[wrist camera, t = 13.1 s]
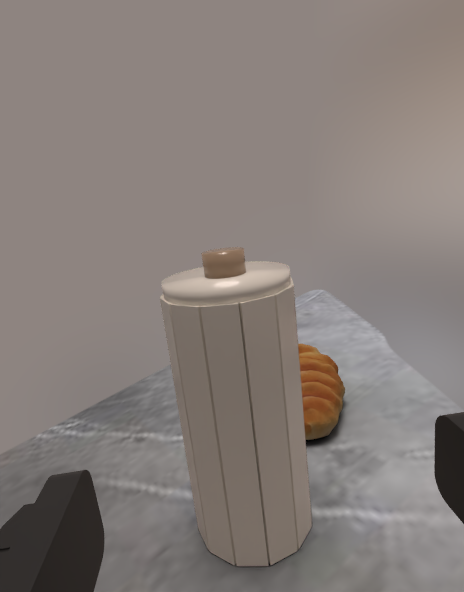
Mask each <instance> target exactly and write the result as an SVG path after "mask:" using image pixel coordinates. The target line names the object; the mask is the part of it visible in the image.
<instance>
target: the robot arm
mask: <svg viewBox="0 0 464 592" xmlns="http://www.w3.org/2000/svg"><path fill="white" fill-rule="evenodd" d="M435 479H436V483H437V486H438V489H439V491H440V493H441V495H442V497H443V499H444V500H445V502H446V503H447V504H448V506H449V507H450V508H451V509H452V510H453V512H454V513H455V514H456V515H457V516H458V518H459V519H460V520H461V521H462V522H463V524H464V412H461V413H455V414H448V415H442V416H439V417H438V418H437V420H436V423H435ZM103 552H104V528H103V523H102V519H101V515H100V511H99V506H98V502H97V498H96V494H95V490H94V486H93V481H92V478H91V475H90V473H89V471H87V470H83V471H76V472H70V473H64V474H57V475H52V476H50V477H49V478H48V480H47V481H46V483H45V485H44V487H43V489H42V491H41V492H40V494H39V496H38V498H37V500H36V502H35V503H34V504H27V505H24V506H23V507H22V508H21V509H20V510H19V511H18V512H17V513H16V514H15V515H14V516H13V517H12V518H11V519H10V520H8V521H7V522H6V523H5V524H4V525H3V526H2V528H1V529H0V592H94V588H95V585H96V581H97V577H98V573H99V570H100V566H101V562H102V558H103Z"/></svg>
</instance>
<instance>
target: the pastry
mask: <svg viewBox="0 0 464 592" xmlns="http://www.w3.org/2000/svg"><path fill="white" fill-rule="evenodd" d="M298 349H299V362H300V375H301V387H302V400H303V413H304V426H305V439H306V440H311V439H317V438H321V437H324V436H327V435H329V434H330V432H331V431H332V429H333V428H334V427H335V426H336V424H337V423H338V418H339V413H340V412H341V410H342V407H343V401H342V399H343V396H344V393H345V387H344V386H343V382H342V381H341V379H340V377H339V375H338V366H337V365H336V363H335V362H334V361H333V360H332V359H331V358H330V357H329V356H327V355H323V354H321V353H320V352H319V351H318V349H317V348H315V347H312V346H309V345H304V344H298Z"/></svg>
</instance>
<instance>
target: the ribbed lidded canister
mask: <svg viewBox="0 0 464 592" xmlns="http://www.w3.org/2000/svg"><path fill="white" fill-rule="evenodd" d="M244 257H245V256H244V248H241V247H232V248H221V249H215V250H210V251H206V252H203V253H202V260H203V267H200V268H195V269H191V270H187V271H183V272H180V273H177V274H174V275H172V276H169V277H167V278H166V279H164V280H163V281H162V283H161V284H162V290H163V295H162V296H161V297H160V302H161V308H162V314H163V320H164V325H165V332H166V338H167V344H168V350H169V356H170V362H171V368H172V374H173V380H174V386H175V392H176V398H177V404H178V410H179V416H180V422H181V428H182V434H183V440H184V446H185V452H186V458H187V464H188V470H189V476H190V482H191V488H192V494H193V500H194V506H195V512H196V518H197V524H198V529H199V532H200V534H201V536H202V538H203V540H204V542H205V544H206V546H207V548H208V550H210V552H211V553H213V554H214V555H216V556H218V557H220V558H222V559H223V560H225V561H227V562H229V563H230V564H232V565H234V566H235V564H237V566H268V562H269V563H270V565H273V564H274V563H276V562H278V561H280V560H282V559H284V558H285V557H287V556H289V555H291V554H293V553H295V552H296V551H297V549H300V547H301V545H302V543H303V542H304V540H305V538H306V536H307V534H308V533H309V531H310V529H311V527H312V517H311V504H310V491H309V478H308V465H307V452H306V439H305V426H304V413H303V400H302V387H301V375H300V362H299V349H298V336H297V323H296V310H295V297H294V285H293V281H292V278H291V277H290V268H289V266H287V265H285V264H282V263H277V262H263V261H261V262H260V261H257V262H255V261H254V262H245V258H244Z"/></svg>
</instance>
